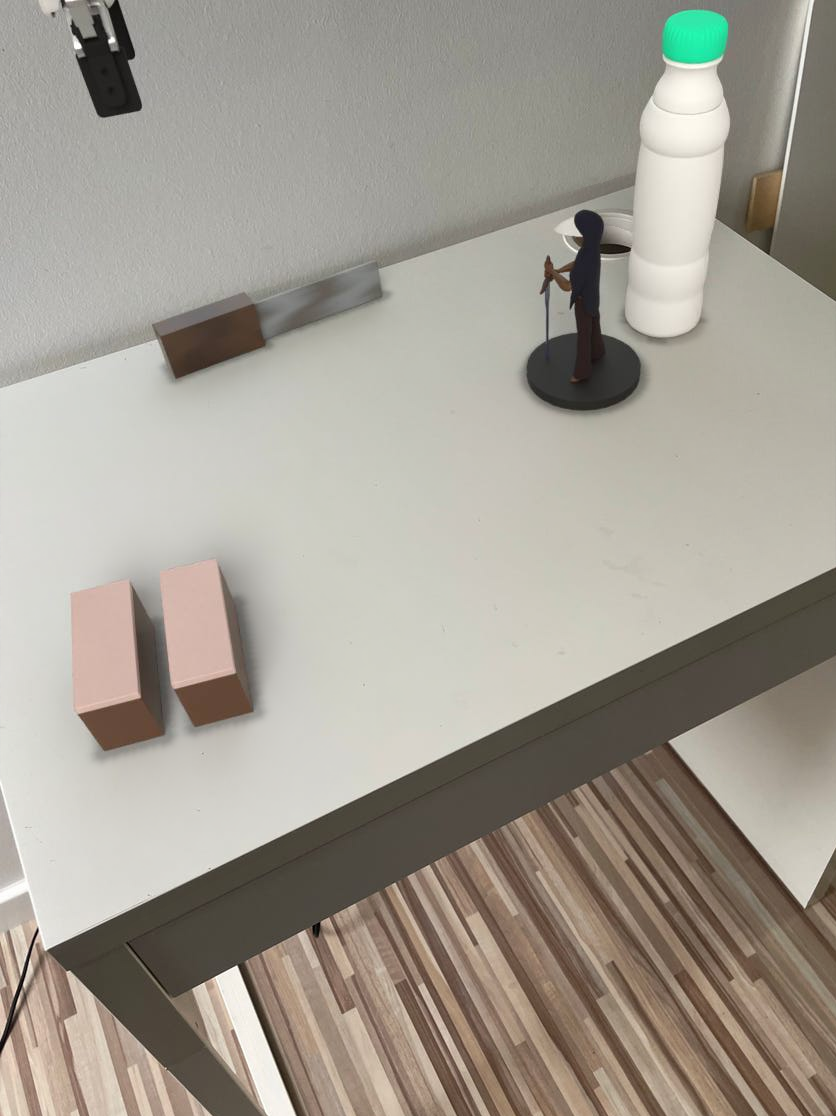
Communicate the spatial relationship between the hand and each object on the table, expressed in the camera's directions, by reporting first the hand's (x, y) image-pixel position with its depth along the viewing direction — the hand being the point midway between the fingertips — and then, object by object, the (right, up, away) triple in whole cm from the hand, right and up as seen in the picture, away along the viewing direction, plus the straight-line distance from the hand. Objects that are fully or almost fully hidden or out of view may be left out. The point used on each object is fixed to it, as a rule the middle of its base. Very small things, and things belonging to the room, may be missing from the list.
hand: (118, 85), depth 70 cm
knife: (+8, -12, +20) cm, 25 cm away
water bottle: (+44, -11, +19) cm, 49 cm away
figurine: (+36, -18, +14) cm, 43 cm away
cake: (+5, -44, -4) cm, 44 cm away
